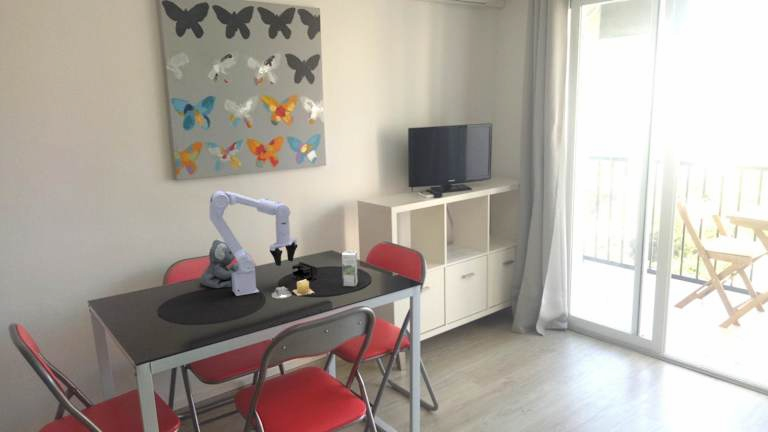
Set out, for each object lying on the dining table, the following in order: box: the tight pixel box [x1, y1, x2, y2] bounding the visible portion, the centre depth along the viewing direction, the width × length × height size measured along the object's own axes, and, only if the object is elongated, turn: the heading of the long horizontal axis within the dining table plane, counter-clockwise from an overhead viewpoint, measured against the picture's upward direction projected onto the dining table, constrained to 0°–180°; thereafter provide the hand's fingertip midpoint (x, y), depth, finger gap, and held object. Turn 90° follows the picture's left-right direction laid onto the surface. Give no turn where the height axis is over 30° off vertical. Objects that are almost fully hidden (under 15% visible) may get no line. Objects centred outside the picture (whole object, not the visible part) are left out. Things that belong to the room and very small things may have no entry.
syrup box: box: [341, 250, 358, 288], centre depth 233 cm, size 6×6×14 cm
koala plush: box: [200, 238, 239, 289], centre depth 237 cm, size 17×18×20 cm
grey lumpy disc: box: [271, 286, 293, 300], centre depth 222 cm, size 8×8×3 cm
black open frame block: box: [291, 261, 319, 282], centre depth 243 cm, size 10×7×7 cm
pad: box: [292, 288, 315, 297], centre depth 226 cm, size 7×7×1 cm
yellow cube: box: [296, 279, 310, 293], centre depth 225 cm, size 5×5×5 cm
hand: (284, 263), depth 231 cm, fingers open, 7 cm apart
